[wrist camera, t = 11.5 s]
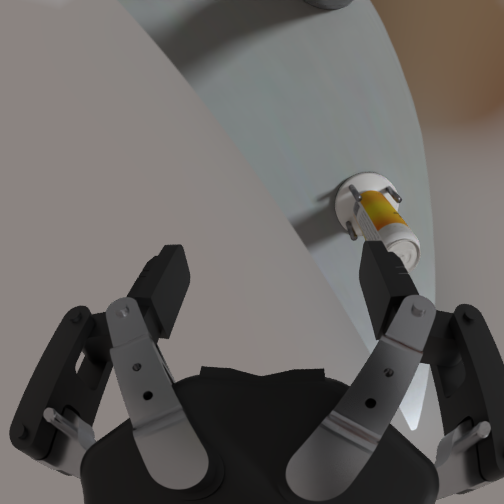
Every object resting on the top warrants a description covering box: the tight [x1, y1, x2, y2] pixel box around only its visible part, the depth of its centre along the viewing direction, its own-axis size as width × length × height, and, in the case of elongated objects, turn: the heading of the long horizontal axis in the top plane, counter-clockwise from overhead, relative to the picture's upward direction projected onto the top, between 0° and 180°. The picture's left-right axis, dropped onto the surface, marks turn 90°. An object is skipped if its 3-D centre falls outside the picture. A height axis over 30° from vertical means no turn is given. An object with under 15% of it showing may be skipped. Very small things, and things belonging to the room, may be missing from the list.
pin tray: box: [335, 172, 402, 241], centre depth 40 cm, size 11×11×6 cm
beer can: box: [353, 190, 421, 273], centre depth 35 cm, size 6×6×15 cm
